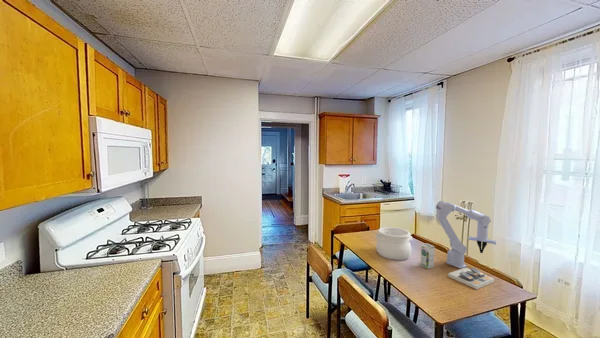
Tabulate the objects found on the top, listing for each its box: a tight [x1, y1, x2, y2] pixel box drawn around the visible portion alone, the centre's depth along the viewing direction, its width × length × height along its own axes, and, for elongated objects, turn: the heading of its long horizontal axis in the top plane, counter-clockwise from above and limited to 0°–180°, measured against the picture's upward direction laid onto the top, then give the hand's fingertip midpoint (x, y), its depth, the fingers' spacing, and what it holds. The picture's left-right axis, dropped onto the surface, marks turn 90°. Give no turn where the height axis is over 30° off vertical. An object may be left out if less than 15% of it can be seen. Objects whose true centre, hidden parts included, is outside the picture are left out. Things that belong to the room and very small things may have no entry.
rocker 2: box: [465, 271, 479, 277], centre depth 149 cm, size 6×4×1 cm, turn 27°
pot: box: [375, 226, 413, 261], centre depth 185 cm, size 26×24×18 cm
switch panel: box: [447, 267, 495, 290], centre depth 149 cm, size 16×18×2 cm
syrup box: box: [420, 243, 435, 269], centre depth 166 cm, size 6×6×14 cm
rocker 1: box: [459, 271, 474, 280], centre depth 146 cm, size 6×4×1 cm, turn 27°
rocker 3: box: [469, 267, 485, 276], centre depth 151 cm, size 6×4×1 cm, turn 27°
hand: (481, 252), depth 166 cm, fingers closed
